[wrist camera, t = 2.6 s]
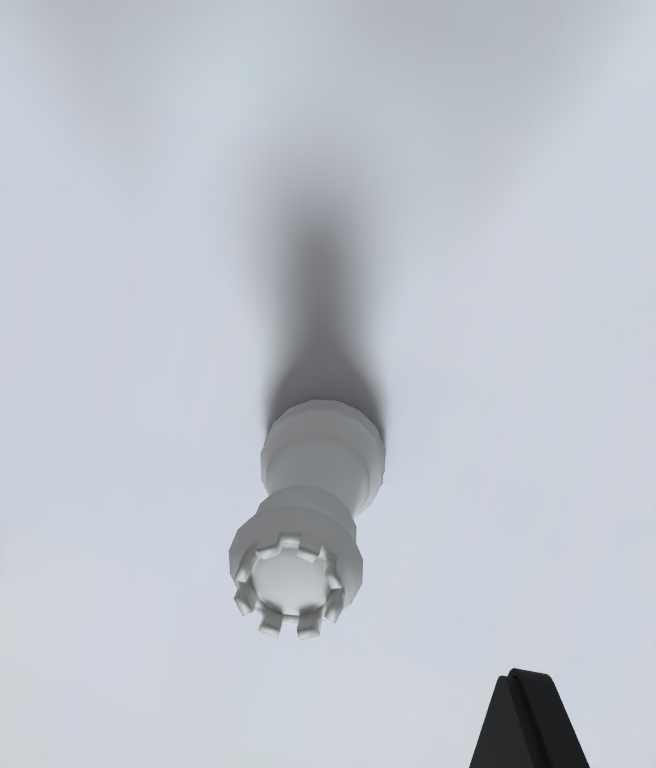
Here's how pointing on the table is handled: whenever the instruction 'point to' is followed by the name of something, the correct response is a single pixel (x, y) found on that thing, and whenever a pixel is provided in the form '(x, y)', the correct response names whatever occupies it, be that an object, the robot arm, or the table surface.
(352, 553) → the rook chess piece
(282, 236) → the table surface
